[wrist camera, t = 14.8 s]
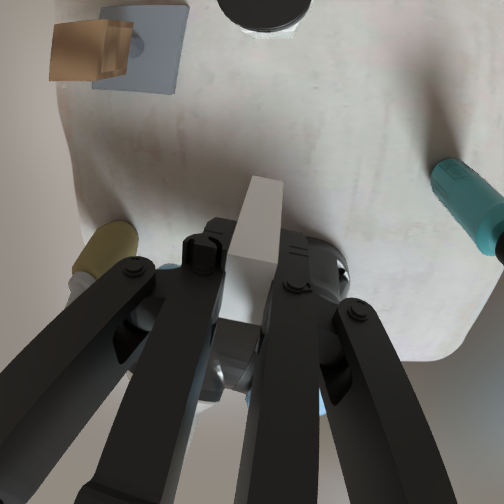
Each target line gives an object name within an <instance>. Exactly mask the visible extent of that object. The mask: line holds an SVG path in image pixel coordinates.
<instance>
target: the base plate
mask: <svg viewBox="0 0 504 504" xmlns="http://www.w3.org/2000/svg"><path fill="white" fill-rule="evenodd" d="M189 8H190V7H189V6H186V5H129V6H114V7H102V9H101V15H100V19H108V20H119V21H128V22H134V24H133V30H132V36H131V37H139V38H141V39H142V40H143V42H144V51H143V53H142V54H141V55H140V56H139V57H137V58H132V59H128V63H127V71H126V75H121V76H116V77H111V78H107V79H102V80H98V81H92V89H104V90H122V91H136V92H148V93H158V94H167V95H172V94H175V88H176V81H177V74H178V68H179V62H180V56H181V50H182V44H183V39H184V33H185V28H186V23H187V18H188V13H189Z"/></svg>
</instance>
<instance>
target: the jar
mask: <svg viewBox="0 0 504 504" xmlns="http://www.w3.org/2000/svg"><path fill="white" fill-rule="evenodd" d="M217 1H218V4H219V6H220V8H221V10H222V11H223V12H224V14H225V15H226V16H227V17H228V18H229V19H230V20H231V21H232V22H234V23H235V24H237V25H238V26H239V28H240V29H241V30H242V32H244V33H245V34H247V35H249V36H251V37H253V38H254V39H267V38H293V37H294V36H295V34H296V33H297V31H298V29H299V28H300V26H301V25H302V23H303V21H304V20H305V18H306V17H307V15H308V14H309V12H310V11H311V8H312V5H313V3H314V0H217Z"/></svg>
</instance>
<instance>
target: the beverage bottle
mask: <svg viewBox="0 0 504 504" xmlns="http://www.w3.org/2000/svg"><path fill="white" fill-rule="evenodd" d="M476 173H477V172H475V171H474V170H473V169H472V170H471V168H470V167H469V166H468V167H467V165H466V164H465V163H463V162H462V161H459V160H457V159H453V158H448V159H445V160H442V161H441V162H439V163H438V164H437V165H436V166H435V168H434V169H433V172H432V174H431V186H432V189H433V190H432V191H433V192H434V193H435V195H436V196H437V197H438V198H439V199H440V201H441V202H442V203H443V204H444V205H445V207H446V208H447V209H448V210H449V211H450V213H451V214H452V215H453V216H454V217H453V218H455V220H457V221H458V222H457V223H459V224H460V225H461V226H462V227H463V228H464V230H465V231H466V232H467V233H468V235H469V236H470V237H471V239H472V240H473V241H474V243H475V244H476V245H477V247H478V249H479V250H480V252H482V253H483V254H485V255H487V256H496V257H497V259H498V260H499V261H500V262H501V263H502V264H503V265H504V197H503V196H502V195H500V194H499V193H498V192H497V191H496V190H495V189H494V188H495V187H494V188H493V187H492V186H491V185H490V184H488V181H487V182H486V181H485V180H484V178H483V179H482V178H481V177H480V176H479V174H478V173H477V174H476ZM434 193H433V194H434ZM442 203H441V204H442ZM449 211H448V212H449ZM452 215H451V216H452Z"/></svg>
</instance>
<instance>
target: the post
mask: <svg viewBox="0 0 504 504" xmlns="http://www.w3.org/2000/svg"><path fill="white" fill-rule="evenodd" d="M143 51H144V42H143V40H142V39H141V38H139V37H131V42H130V49H129V56H128V59H132V58H137V57H139V56H140V55H141V54H142V53H143Z"/></svg>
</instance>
